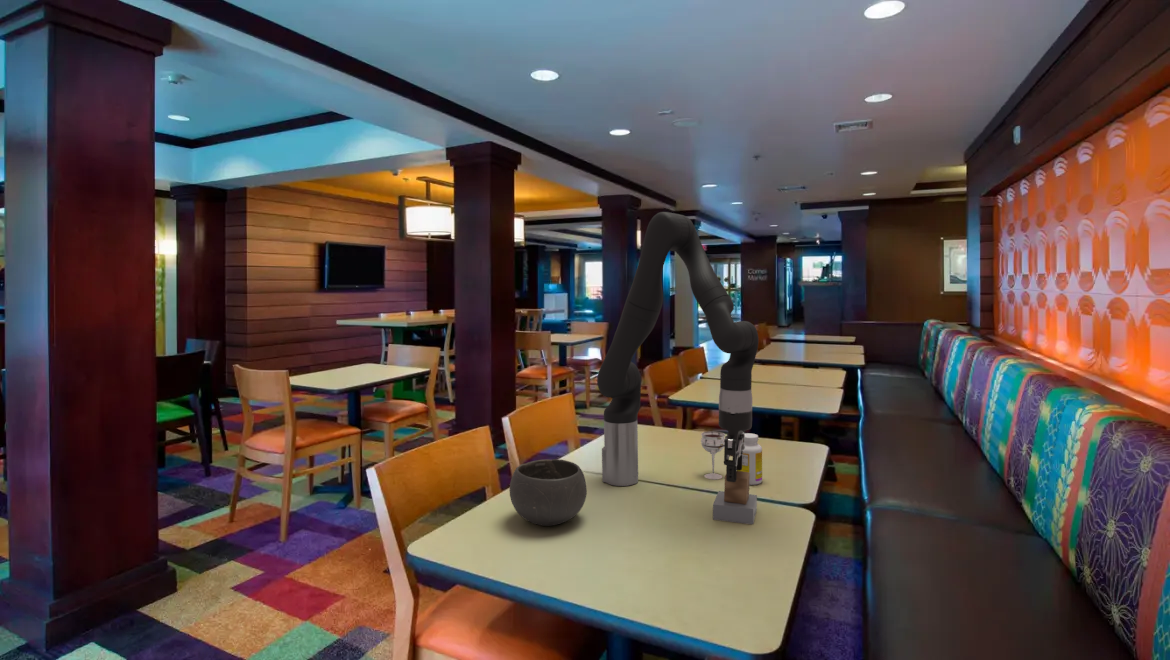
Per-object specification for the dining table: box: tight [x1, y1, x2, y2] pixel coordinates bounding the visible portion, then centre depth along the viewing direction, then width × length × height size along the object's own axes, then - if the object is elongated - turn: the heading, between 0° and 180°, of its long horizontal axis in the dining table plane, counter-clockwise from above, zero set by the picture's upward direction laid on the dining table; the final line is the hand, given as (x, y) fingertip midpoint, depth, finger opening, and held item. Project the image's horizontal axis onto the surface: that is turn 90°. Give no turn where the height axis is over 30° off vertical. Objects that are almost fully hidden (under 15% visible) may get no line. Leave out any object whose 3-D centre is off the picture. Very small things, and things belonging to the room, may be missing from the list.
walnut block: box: [723, 471, 750, 504], centre depth 140 cm, size 5×5×6 cm
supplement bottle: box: [737, 432, 763, 486], centre depth 162 cm, size 7×7×13 cm
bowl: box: [509, 458, 588, 527], centre depth 139 cm, size 18×18×13 cm
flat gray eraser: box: [712, 490, 758, 525], centre depth 140 cm, size 9×9×4 cm
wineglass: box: [700, 430, 726, 480], centre depth 167 cm, size 7×7×12 cm
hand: (734, 475), depth 140 cm, fingers open, 8 cm apart
